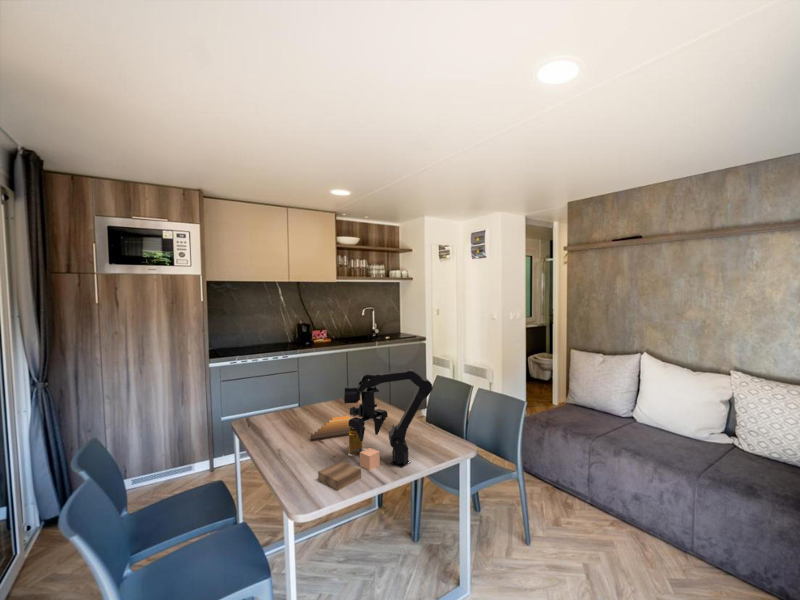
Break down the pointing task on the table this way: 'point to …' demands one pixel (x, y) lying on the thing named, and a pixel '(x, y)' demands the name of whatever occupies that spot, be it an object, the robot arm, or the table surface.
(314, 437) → the pan flute
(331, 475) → the walnut block
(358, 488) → the table surface
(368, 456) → the terracotta cube
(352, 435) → the condiment
